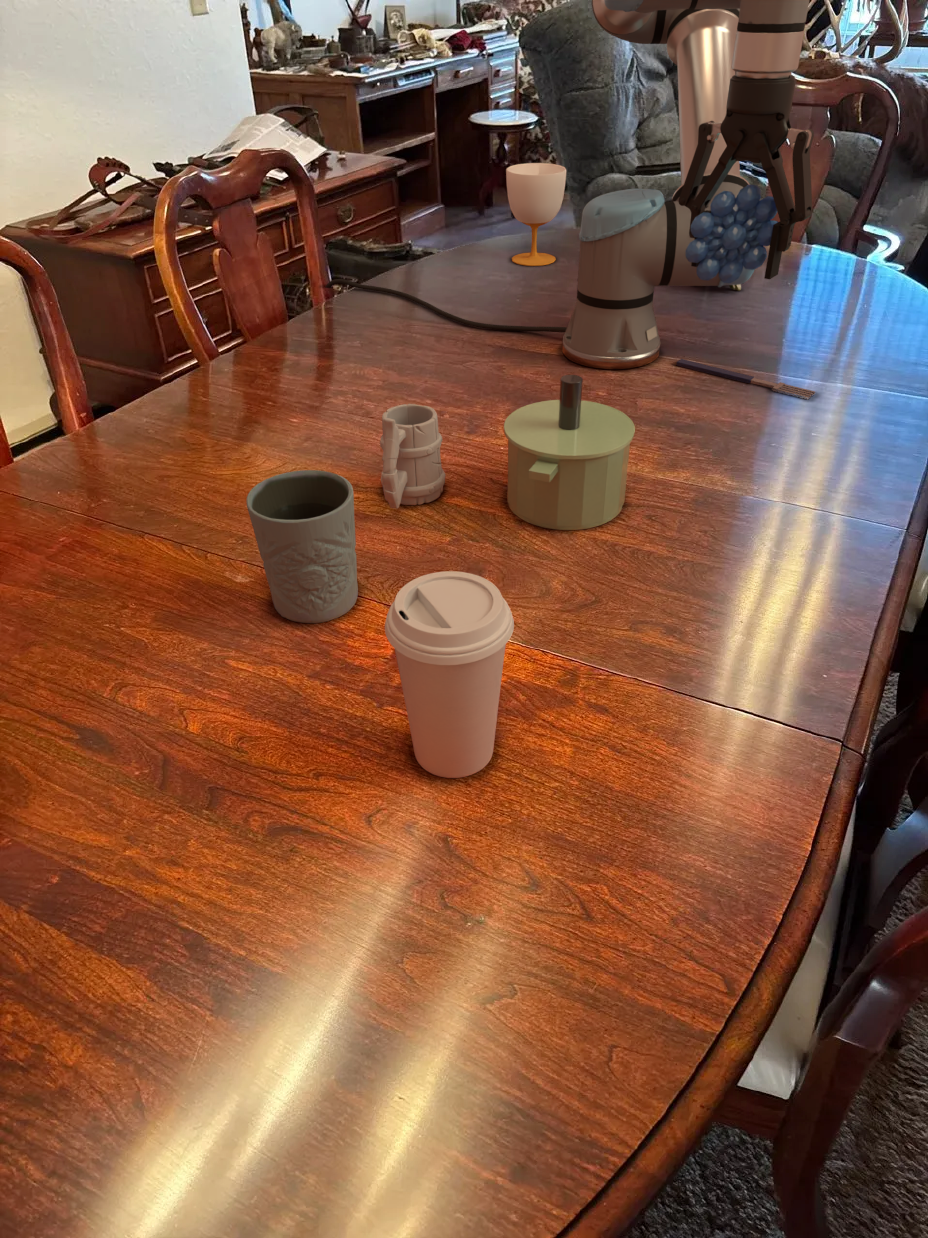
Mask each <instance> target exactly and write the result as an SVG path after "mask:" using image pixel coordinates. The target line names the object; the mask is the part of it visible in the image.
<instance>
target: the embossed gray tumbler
mask: <svg viewBox="0 0 928 1238" xmlns="http://www.w3.org/2000/svg"><path fill="white" fill-rule="evenodd" d="M245 501H246V509H247V511H248V516H249V519H250V522H251V523H250V524H251V526H252V529H253V532H254V537H255V541H256V545H257V548H258V551H259V555H260V558H261V560H262V561H263V565H262V566H263V570H264V573H265V578H266V581H267V584H268V587H269V591H270V594H271V600H272V603H273V607H274V609H275V610H276V612H277V613H278V615H280V616H281V617H282V618H285V619H287V620H288V621H289V620H290V621H292V622H295V623H296V622H297V623H303V624H304V623H305V624H320V623H325V622H329V621H332V620H336V619H338V618H340V617H342V616H344V615H346V614H347V613H348V612H350V610H351V609H353V608H354V606H355V604H356V602H357V600H358V596H359V584H358V564H357V563H358V561H357V552H356V546H357V542H356V540H357V539H356V537H357V535H356V521H355V493H354V488H353V485H352V483H351V482H350V481H349V480H348V479H347V478H345V477H344V476H342V475H340V474H337V473H335V472H331V471H326V470H318V469H303V470H293V471H287V472H283V473H280V474H276V475H273V476H271V477H269V478H266V479H264V480H261V481H260V482H259V483H257V484H256V485H254V486H253V487H251V489H250V491H249V492H248V493H247V496H246V500H245Z"/></svg>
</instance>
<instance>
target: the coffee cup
mask: <svg viewBox="0 0 928 1238" xmlns="http://www.w3.org/2000/svg"><path fill="white" fill-rule="evenodd" d="M514 630H515V620H514V616H513V613H512V609H511V608H510V606H509V604H508V601H507V600H506V599H505V597H503V595H502V592H501V591H500V589H499V588H498V587H497V586H496V585H495V584H494V583H493V582H491V581H490V580H488V579H486V578H484V577H482V576H480V575H478V574H474V573H471V572H465V571H456V570H448V571H447V570H446V571H445V570H444V571H437V572H431V573H426V574H423V575H421V576H418V577H416V578H414V579H412V580H410V581H408V582H407V583H405V584H404V585H403V586H402V587H401V588H400V589H399V590H398V592H397V593H396V596H395V598H394V601H393V602H392V603H391V605H390V607H389V609H388V611H387V613H386V618H385V622H384V633H385V636H386V638H387V641H388V642H389V644H390V645H391V646H392V647H393V649H394V653H395V657H396V662H397V668H398V673H399V678H400V684H401V688H402V689H401V690H402V695H403V699H404V705H405V709H406V716H407V720H408V726H409V732H410V736H411V742H412V747H413V752H414V757H415V759H416V761H417V763H418V764H419V766H421V768H422V769H423V770H425V771H426V772H428V773H430V774H432V775H434V776H436V777H441V778H447V779H459V778H465V777H468V776H472V775H474V774H476V773H479V772H480V771H481V770H483V769H484V768H486V766H487V765H488V764H489V763H490V761H491V760H492V757H493V754H494V748H495V740H496V739H495V738H496V730H497V728H496V727H497V721H498V712H499V704H500V695H501V687H502V679H503V669H504V661H505V653H506V647H507V643H508V642H509V641H510V639H511V637H512V635H513V633H514Z"/></svg>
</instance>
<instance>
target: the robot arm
mask: <svg viewBox="0 0 928 1238" xmlns="http://www.w3.org/2000/svg"><path fill="white" fill-rule="evenodd" d="M809 5H810V0H591V9H592V10H591V11H592V13H593V16H594V19H595V21H596V22H597V24H598V26H599V27H600V28H601V29H602V30H603V31H604V32H606V33H608V34H609V35H611V36H613V37H615V38H617V39H619V40H622V41H625V42H629V43H634V44H640V45H666V51H667V55H668V57H669V59H670V60H671V62H672V63H673V64H674V65H676V66H677V92H678V95H677V96H678V127H679V128H678V129H679V131H678V132H679V159H680V161H679V162H680V163H679V164H680V165H679V166H680V186H679V187H678V188H677V189H676V190H675V192H674V193H673V195H672V197H671V201H666V200H665V197H664V194H663V192H662V191H661V190H659V189H655V188H639V187H637V188H626V189H621V190H615V191H610V192H607V193H603V194H600V195H599V196H596V197H594V198H592V199H591V200H589V201H588V202H587V203H586V205H585V206H584V208H583V209H582V213H581V222H580V231H579V232H578V240H579V243H580V244H579V255H578V271H577V284H576V285H577V287H576V301H575V305H574V308H573V310H572V314H571V316H570V318H569V322H568V324H567V326H544V325H543V326H541V325H540V326H535V325H534V326H530V325H529V326H526V325H507V324H506V325H505V324H492V323H484V322H479V321H473V320H468V319H465V318H462V317H460V316H457V315H454V314H452V313H450V312H446V311H445V310H442V309H440V308H438V307H437V306H435V305H433V304H431V303H430V302H427V301H425V300H422V299H420V298H418V297H416V296H413V295H412V294H409V293H405V292H403V291H400V290H396V289H392V288H387V287H381V286H375V285H369V284H363V283H362V284H361V283H358V282H355V281H351V280H348V279H344V278H334V279H332V280H330V281H329V282H328V283H327V284H325V287H324V288H326V289H330V288H331V287H332V286H334V285H337V284H343V285H347V286H350V287H353V288H356V289H360V290H366V291H372V292H378V293H384V294H390V295H394V296H397V297H401V298H404V299H406V300H409V301H412V302H414V303H416V304H418V305H420V306H422V307H424V308H426V309H428V310H431V311H432V312H434V313H435V314H437V315H439V316H442V317H443V318H446V319H448V320H451V321H453V322H456V323H459V324H462V325H465V326H469V327H472V328H473V327H474V328H479V329H484V330H492V331H494V330H495V331H506V332H507V331H508V332H509V331H511V332H528V333H529V332H533V333H534V332H535V333H538V332H541V333H542V332H543V333H547V332H548V333H563V334H564V335H563V337H562V353H563V355H564V357H565V358H567V359H568V360H570V361H571V362H574V363H575V364H578V365H581V366H584V367H585V366H586V367H589V368H595V369H603V370H626V369H627V370H628V369H634V368H639V367H642V366H646V365H648V364H651V363H652V362H654V361H656V360H657V359H658V357H659V355H660V350H661V338H660V334H659V329H658V324H657V319H656V315H655V310H654V305H653V304H654V303H653V302H654V295H655V287H707V286H708V287H713V286H714V287H717V288H722V287H723V286H729V285H740V284H741V285H743V284H745V283H746V282H748V281H749V280H750V279H751V277H752V276H753V274H754V272H755V270H749V269H745V268H744V266H743V271H742V273H741V275H740V277H739V278H738V279H737V280H735V281H734V282H732V283H723V282H722V281H721V280H720V279H719V272H718V273H717V275H716V276H715V277H714V278H712V279H710V280H700V279H699V277H698V276H697V267H698V265H699V263H700V262H701V261H700V262H698V263H693V262H689V261H688V260H687V258H686V252H685V251H686V249H687V247H688V245H689V243H690V242H692V241H693V240H695V239H697V237H694V236H693V235H692V233H691V224H692V222H693V220H694V219H695V217H696V216H698V215H700V214H701V213H703V212H708V213H711V210H710V205H711V203H712V201H713V199H714V197H715V196H716V195H718V194H719V193H721V192H723V191H730V192H732V193H733V194H734V195H735V198H736V197H737V195H738V193H739V191H740V190H741V189H742V188H744V187H746V186H747V185H751V183H750V182H749V181H748V180H747V179H746V178H744V177H743V176H742V175H741V169H740V162H744V161H745V162H746V161H748V162H750V163H753V164H761V168H762V170H763V171H764V172H765V175H766V178H767V181H768V185H769V187H770V188H769V189H770V191H771V196H772V197H773V198H774V202H775V205H776V208H777V215H778V218H779V221H778V223H776V224H774V225H773V230H772V236H771V242H770V245H769V249H768V253H767V259H766V260H767V261H766V267H765V272H764V278H763V279H765V280H772V279H773V278H774V277H776V276H777V275H779V271H780V265H781V260H782V254H783V253H785V252H786V251H788V250H789V249H790V247H791V245H792V240H793V235H794V230H795V224H796V223H799V222H800V223H801V222H803V221H805V220H807V219H809V218H810V217H812V215H813V212H814V211H813V194H812V191H813V190H812V174H811V173H812V172H811V171H812V169H811V147H812V144H813V141H814V136H815V132H814V130H813V129H812V128H807V129H805V130H804V129H798V128H793V127H792V125H791V119H790V116H791V112H792V105H793V101H794V94H795V89H796V84H797V83H796V82H797V79H796V77H795V76H794V75H793V74H792V73H794V72H795V71H797V70H798V68H799V65H800V58H801V52H802V46H803V42H804V41H803V40H804V34H805V28H806V22H807V17H808V11H809ZM787 140H788V141H789V147H790V149H791V150H792V157H791V158H792V175H793V176H792V177H793V194H794V195H792V192H791V189H790V185H789V182H788V180H787V179H788V178H787V175H786V172H785V168H784V164H783V163H784V159H783V155H782V152H781V149H780V148H781V147H782V145H784V143H785V142H786V141H787ZM793 197H794V198H793ZM760 200H761V199H760ZM760 200H759V201H760Z"/></svg>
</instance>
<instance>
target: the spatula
mask: <svg viewBox="0 0 928 1238" xmlns="http://www.w3.org/2000/svg"><path fill="white" fill-rule="evenodd" d="M675 364H676V366H678V367H682V368H684V369H689V370H693V371H697V372H701V373H705V374H709V375H712V376H717V377H721V378H725V379H730V380H733V381H738V382H741V383H746V384H751V385H757V386H761V387H764V388H769V389H771V391H772V392H775V393H780V394H783V395H787V396H791V397H796V398H800V399H804V400H810V399H811V398H812V397H813V396H814V395H816V391H815V390H811V389H807V388H802V387H798V386H795V385H790V384H786V383H785V382H781V381H780V382H778V383H776V382H771V381H768V380H763V379H759V378H756V377H755V376H753V375H749V374H746V373H741V372H738V371H733V370H729V369H725V368H720V367H717V366H713V365H709V364H704V363H701V362H696V361H692V360H688V359H683V358H680V359H678V360H677V361H676V362H675Z"/></svg>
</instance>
